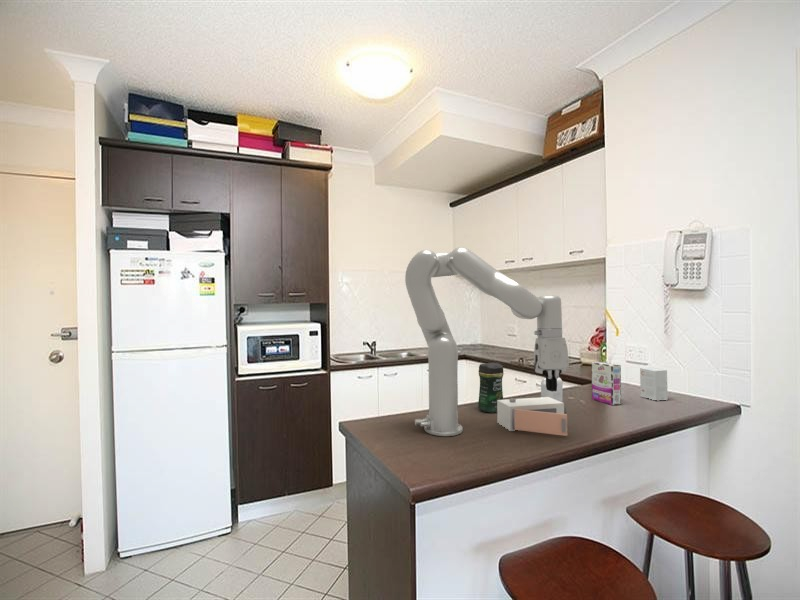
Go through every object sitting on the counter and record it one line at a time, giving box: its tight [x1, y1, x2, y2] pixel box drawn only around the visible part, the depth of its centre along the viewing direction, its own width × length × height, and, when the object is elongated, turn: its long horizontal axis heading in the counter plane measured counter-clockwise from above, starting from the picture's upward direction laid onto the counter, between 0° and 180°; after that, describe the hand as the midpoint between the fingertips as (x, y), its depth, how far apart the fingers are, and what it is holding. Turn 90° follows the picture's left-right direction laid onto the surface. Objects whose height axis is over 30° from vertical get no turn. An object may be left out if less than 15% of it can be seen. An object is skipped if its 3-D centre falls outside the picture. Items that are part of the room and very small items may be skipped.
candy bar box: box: [591, 361, 622, 406], centre depth 162 cm, size 11×5×16 cm, turn 17°
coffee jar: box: [477, 362, 505, 413], centre depth 150 cm, size 10×8×19 cm
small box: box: [639, 367, 669, 401], centre depth 167 cm, size 8×6×13 cm
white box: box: [496, 396, 568, 432], centre depth 132 cm, size 22×9×9 cm, turn 102°
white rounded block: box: [540, 377, 564, 403], centre depth 155 cm, size 10×4×12 cm, turn 123°
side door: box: [512, 409, 568, 437], centre depth 121 cm, size 16×2×6 cm, turn 67°
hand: (551, 390), depth 123 cm, fingers closed
